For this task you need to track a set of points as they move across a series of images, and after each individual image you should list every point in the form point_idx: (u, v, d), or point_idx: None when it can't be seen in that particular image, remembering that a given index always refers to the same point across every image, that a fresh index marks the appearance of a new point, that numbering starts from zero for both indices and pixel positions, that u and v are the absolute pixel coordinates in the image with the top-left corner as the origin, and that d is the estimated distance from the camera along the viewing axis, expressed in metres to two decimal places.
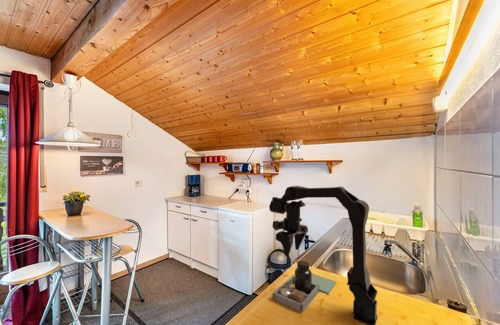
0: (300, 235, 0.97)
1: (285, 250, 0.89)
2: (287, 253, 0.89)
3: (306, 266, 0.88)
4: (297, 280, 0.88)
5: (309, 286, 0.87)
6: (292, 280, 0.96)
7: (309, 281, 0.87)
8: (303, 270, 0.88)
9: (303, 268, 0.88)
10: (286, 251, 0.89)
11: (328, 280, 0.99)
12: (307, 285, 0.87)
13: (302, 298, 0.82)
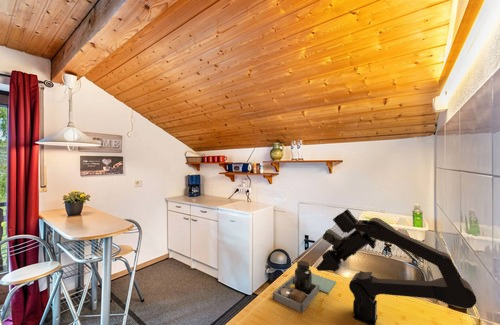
0: None
1: (321, 266, 0.80)
2: (320, 269, 0.81)
3: (306, 266, 0.88)
4: (297, 280, 0.88)
5: (309, 286, 0.87)
6: (292, 280, 0.96)
7: (309, 281, 0.87)
8: (303, 270, 0.88)
9: (303, 268, 0.88)
10: (321, 267, 0.80)
11: (328, 280, 0.99)
12: (307, 285, 0.87)
13: (302, 298, 0.82)
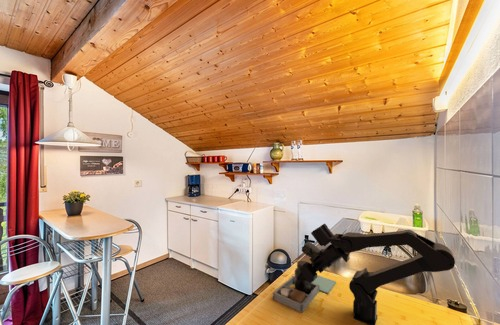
0: None
1: (300, 276, 0.86)
2: (300, 279, 0.87)
3: None
4: (297, 280, 0.88)
5: (309, 286, 0.87)
6: (292, 280, 0.96)
7: None
8: None
9: None
10: (300, 277, 0.86)
11: (328, 280, 0.99)
12: (307, 285, 0.87)
13: (302, 298, 0.82)
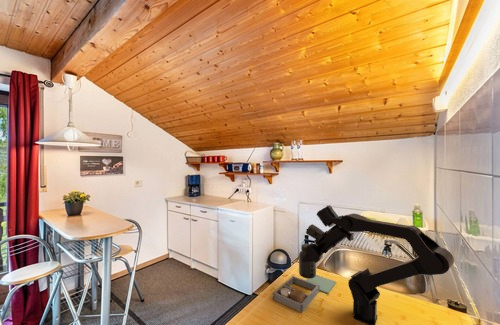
0: None
1: (305, 257, 0.87)
2: (305, 260, 0.88)
3: None
4: (302, 262, 0.89)
5: (314, 268, 0.89)
6: (292, 280, 0.96)
7: (314, 263, 0.89)
8: None
9: None
10: (305, 259, 0.87)
11: (328, 280, 0.99)
12: (312, 267, 0.88)
13: (302, 298, 0.82)
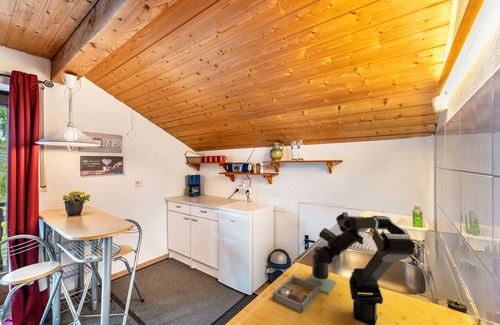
0: None
1: (318, 259, 0.93)
2: (318, 262, 0.93)
3: None
4: (315, 264, 0.95)
5: (326, 269, 0.94)
6: (292, 280, 0.96)
7: (326, 265, 0.94)
8: None
9: None
10: (318, 260, 0.93)
11: (328, 280, 0.99)
12: (324, 268, 0.94)
13: (302, 298, 0.82)
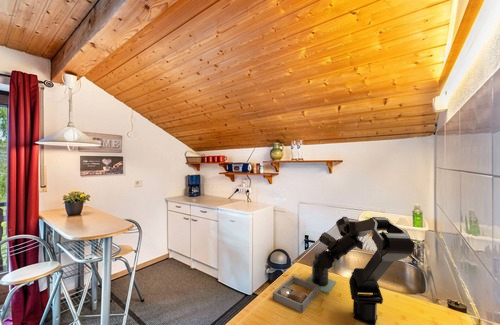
0: None
1: (317, 264, 0.92)
2: (317, 267, 0.93)
3: None
4: (315, 270, 0.95)
5: (326, 276, 0.94)
6: (292, 280, 0.96)
7: (326, 271, 0.94)
8: None
9: None
10: (317, 265, 0.92)
11: (328, 280, 0.99)
12: (324, 275, 0.94)
13: (302, 298, 0.82)
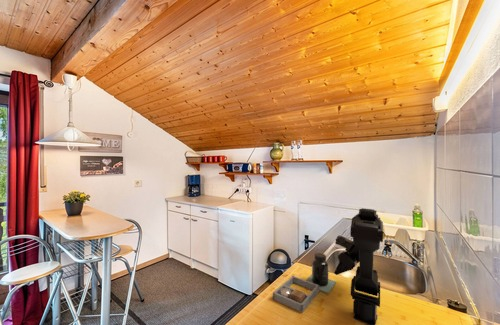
0: None
1: (338, 269, 0.86)
2: (338, 272, 0.86)
3: (323, 258, 0.95)
4: (315, 270, 0.95)
5: (326, 276, 0.94)
6: (292, 280, 0.96)
7: (326, 271, 0.94)
8: (320, 261, 0.95)
9: (320, 259, 0.95)
10: (338, 270, 0.86)
11: (328, 280, 0.99)
12: (324, 275, 0.94)
13: (302, 298, 0.82)
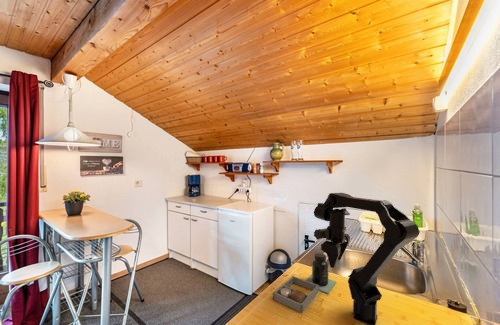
0: (343, 244, 0.92)
1: (331, 261, 0.84)
2: (333, 264, 0.84)
3: (323, 258, 0.95)
4: (315, 270, 0.95)
5: (326, 276, 0.94)
6: (292, 280, 0.96)
7: (326, 272, 0.94)
8: (320, 261, 0.95)
9: (320, 259, 0.95)
10: (332, 262, 0.84)
11: (328, 280, 0.99)
12: (324, 275, 0.94)
13: (302, 298, 0.82)
